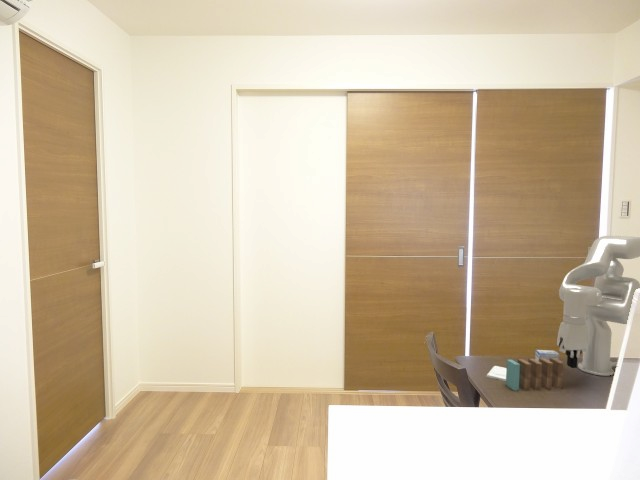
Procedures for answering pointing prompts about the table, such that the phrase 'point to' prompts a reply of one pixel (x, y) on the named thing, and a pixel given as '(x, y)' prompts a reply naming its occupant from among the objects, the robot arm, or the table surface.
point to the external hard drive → (497, 373)
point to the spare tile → (512, 375)
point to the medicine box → (546, 354)
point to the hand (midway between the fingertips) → (571, 366)
